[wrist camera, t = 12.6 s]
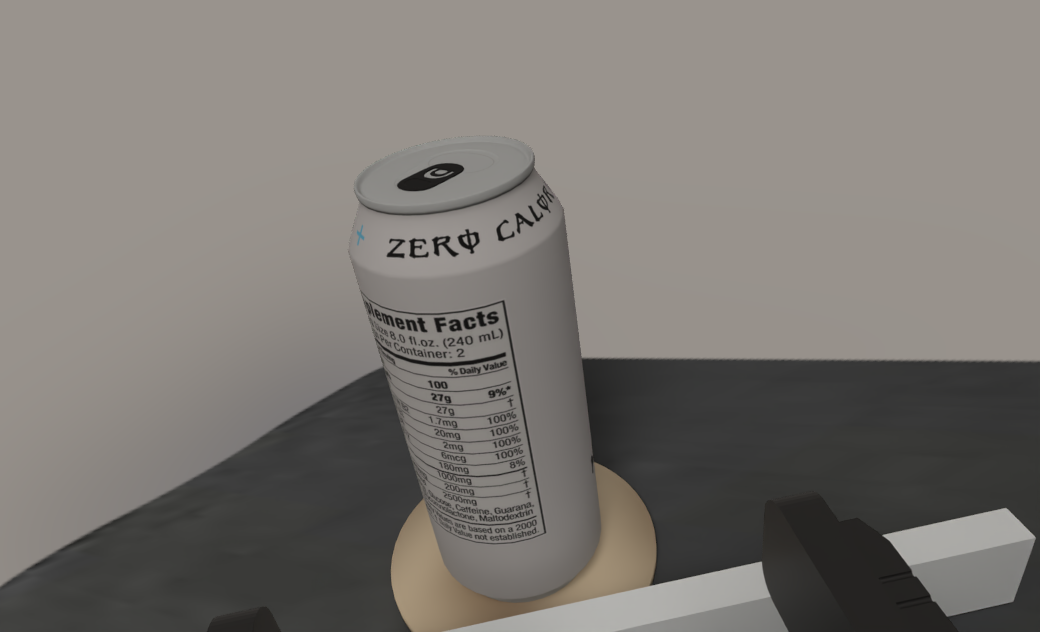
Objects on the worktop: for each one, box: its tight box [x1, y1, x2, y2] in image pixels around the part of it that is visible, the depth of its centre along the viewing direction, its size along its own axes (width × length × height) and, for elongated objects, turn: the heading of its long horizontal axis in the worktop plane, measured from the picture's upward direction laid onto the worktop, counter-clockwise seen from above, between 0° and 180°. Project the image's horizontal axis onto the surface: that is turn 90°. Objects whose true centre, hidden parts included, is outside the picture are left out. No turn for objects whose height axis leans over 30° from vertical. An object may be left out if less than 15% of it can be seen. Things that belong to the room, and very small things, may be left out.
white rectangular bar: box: [443, 508, 1036, 632], centre depth 22 cm, size 21×1×3 cm, turn 98°
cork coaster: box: [391, 462, 657, 632], centre depth 27 cm, size 10×10×1 cm
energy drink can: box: [348, 136, 601, 603], centre depth 23 cm, size 6×6×15 cm
